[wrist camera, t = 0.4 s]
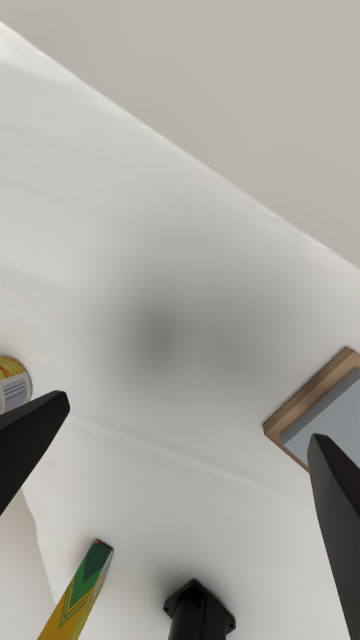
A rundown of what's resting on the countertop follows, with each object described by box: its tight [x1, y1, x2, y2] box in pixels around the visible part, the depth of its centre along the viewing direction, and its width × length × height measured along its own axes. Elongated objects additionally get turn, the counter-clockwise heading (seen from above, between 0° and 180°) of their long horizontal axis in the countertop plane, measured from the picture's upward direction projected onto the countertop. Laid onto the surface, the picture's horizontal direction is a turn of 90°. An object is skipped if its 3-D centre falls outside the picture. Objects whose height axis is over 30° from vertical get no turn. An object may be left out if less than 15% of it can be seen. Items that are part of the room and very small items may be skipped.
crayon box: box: [37, 540, 113, 640], centre depth 25 cm, size 7×3×12 cm, turn 162°
